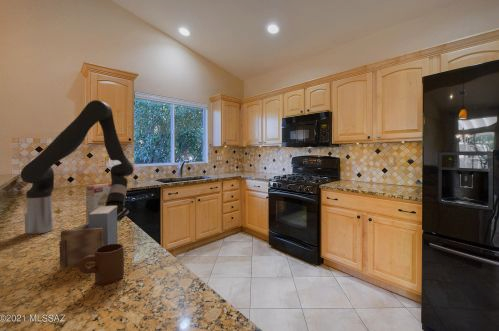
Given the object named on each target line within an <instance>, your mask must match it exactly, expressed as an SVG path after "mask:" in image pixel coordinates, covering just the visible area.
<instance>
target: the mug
mask: <svg viewBox="0 0 499 331" xmlns="http://www.w3.org/2000/svg"><path fill="white" fill-rule="evenodd" d="M124 254H125V252H124V246H123V244H121V243H117V244H109V245H104V246H101V247H99V248H97V249H96V250H95V256H92V255H89V256H86V257H84V258H83V259H81V261H80V262H79V264H78V265H77V267H78V268H77V269H78V271H79V272H80V273H82V274H84V275H86V274H87V275H88V274H94V281H95V283H96V284H98V285H109V284H112V283H116V282H118V281H120V279H122V278H123V277H124V275H125V256H124ZM87 261H95V263H94V265H92V266H86V264H85V263H86V262H87Z"/></svg>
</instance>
